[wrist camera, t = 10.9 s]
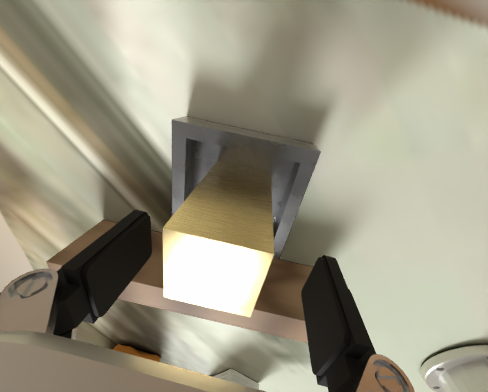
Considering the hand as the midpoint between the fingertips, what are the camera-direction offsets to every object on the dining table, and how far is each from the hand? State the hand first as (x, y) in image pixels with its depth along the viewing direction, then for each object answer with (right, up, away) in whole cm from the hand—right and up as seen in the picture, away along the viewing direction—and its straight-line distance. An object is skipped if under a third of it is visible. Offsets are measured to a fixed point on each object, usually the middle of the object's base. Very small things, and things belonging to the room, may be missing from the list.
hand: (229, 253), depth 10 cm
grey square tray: (0, +4, +7) cm, 8 cm away
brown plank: (-3, -3, +11) cm, 12 cm away
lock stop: (0, +4, +6) cm, 7 cm away
